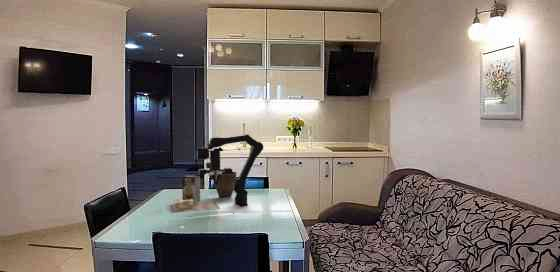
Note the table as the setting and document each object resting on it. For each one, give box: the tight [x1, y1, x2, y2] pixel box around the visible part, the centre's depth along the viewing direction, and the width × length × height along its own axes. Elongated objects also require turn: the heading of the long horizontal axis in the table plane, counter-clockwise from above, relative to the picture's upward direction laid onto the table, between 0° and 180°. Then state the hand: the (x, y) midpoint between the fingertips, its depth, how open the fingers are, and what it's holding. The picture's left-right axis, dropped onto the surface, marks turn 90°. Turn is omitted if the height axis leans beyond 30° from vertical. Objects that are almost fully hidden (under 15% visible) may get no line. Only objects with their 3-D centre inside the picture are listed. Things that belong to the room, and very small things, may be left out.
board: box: [169, 201, 221, 214], centre depth 220 cm, size 26×20×1 cm
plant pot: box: [214, 171, 237, 199], centre depth 250 cm, size 15×15×16 cm
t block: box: [173, 198, 194, 210], centre depth 218 cm, size 10×10×4 cm
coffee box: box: [181, 174, 201, 203], centre depth 237 cm, size 9×6×16 cm
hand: (215, 186), depth 223 cm, fingers closed
